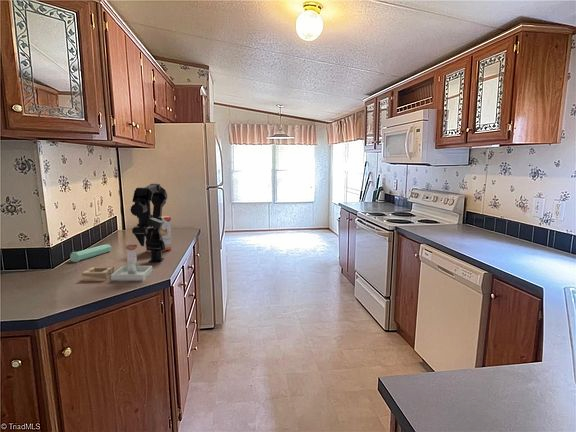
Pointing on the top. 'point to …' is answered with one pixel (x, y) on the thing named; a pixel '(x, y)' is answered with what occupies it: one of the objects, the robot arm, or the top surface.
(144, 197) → the robot arm
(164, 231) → the cracker box
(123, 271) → the tray
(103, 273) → the socket block
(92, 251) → the container
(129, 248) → the clear tall cylinder
